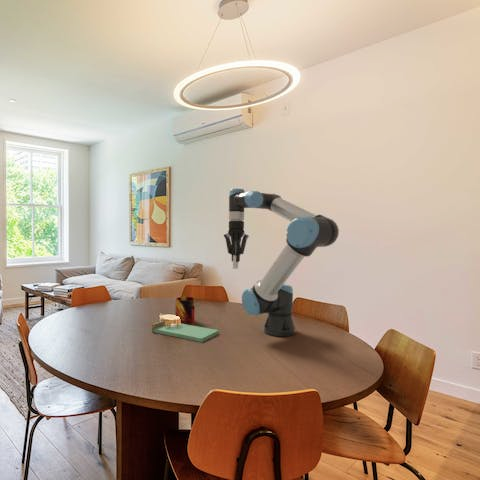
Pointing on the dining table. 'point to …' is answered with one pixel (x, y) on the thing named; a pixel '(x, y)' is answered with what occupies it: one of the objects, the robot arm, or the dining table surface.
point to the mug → (185, 309)
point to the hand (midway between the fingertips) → (235, 268)
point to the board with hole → (185, 331)
